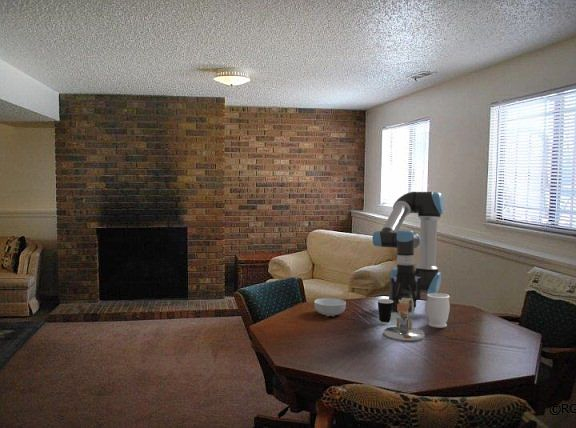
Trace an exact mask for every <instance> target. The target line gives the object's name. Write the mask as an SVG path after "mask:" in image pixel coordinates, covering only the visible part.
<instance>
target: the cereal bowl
mask: <svg viewBox="0 0 576 428" xmlns="http://www.w3.org/2000/svg"><path fill="white" fill-rule="evenodd" d="M313 305H314V309H315V311H316V312H317V313H318V314H321V315H322V314H323V315H326V316H325V317H329V316H332V317H336V316H335V315H337V316H338V315H340V314H342V313H343V312H344V311H345V310H346V305H347V302H346V301H345V300H343V299H340V298H330V297H329V298H327V297H325V298H324V297H323V298H317V299H315V300H314V302H313ZM323 315H322V316H323Z"/></svg>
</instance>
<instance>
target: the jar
mask: <svg viewBox="0 0 576 428" xmlns="http://www.w3.org/2000/svg"><path fill="white" fill-rule="evenodd" d="M426 294H427V293H426ZM426 297H427V300H426V312H427V320H428V321H429V322H428V326H429V327H432V328H437V329H438V328H439V329H442V328H447V326H448V325H447V322H448V319H449V316H450V315H449V314H450V308H451V307H450V301H449V300H450V299H451V298H450V297H451V296H450V295H449V294H447V293H439V292H437V293H430V294H427V295H426Z"/></svg>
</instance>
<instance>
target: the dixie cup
mask: <svg viewBox="0 0 576 428" xmlns="http://www.w3.org/2000/svg"><path fill="white" fill-rule="evenodd" d="M376 301H377V307H378V308H377V309H378V310H377V311H378V321H379V323H380V324H382V325H389V324H390V323H391V321H392V312H393V311H392V305H393V301H392V300H389V298H388V299H387V298H379V299H377V300H376Z"/></svg>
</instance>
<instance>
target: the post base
mask: <svg viewBox="0 0 576 428" xmlns="http://www.w3.org/2000/svg"><path fill="white" fill-rule="evenodd" d="M399 318H400V328H396V326H390V327H386V328H384V329H383V337H385V338H387V339H389V340H391V341H395V342H404V343H405V342H406V343H414V342H421V341H423V340H424V339H425V332H424V331H423V330H421V329H419V328H415V327H412V329H411V330H409V329H408V327H409V316H408V317H401V316H400V317H399Z"/></svg>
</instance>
